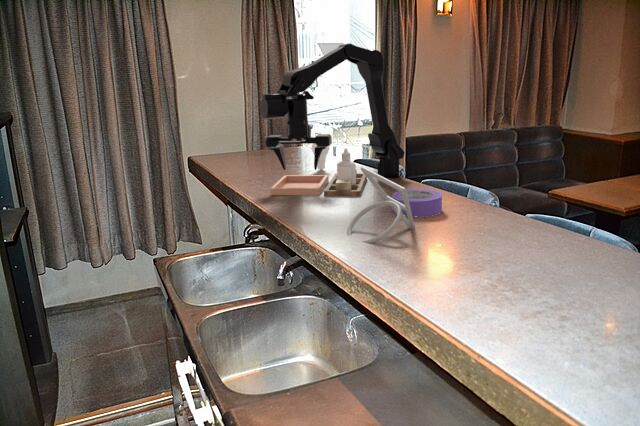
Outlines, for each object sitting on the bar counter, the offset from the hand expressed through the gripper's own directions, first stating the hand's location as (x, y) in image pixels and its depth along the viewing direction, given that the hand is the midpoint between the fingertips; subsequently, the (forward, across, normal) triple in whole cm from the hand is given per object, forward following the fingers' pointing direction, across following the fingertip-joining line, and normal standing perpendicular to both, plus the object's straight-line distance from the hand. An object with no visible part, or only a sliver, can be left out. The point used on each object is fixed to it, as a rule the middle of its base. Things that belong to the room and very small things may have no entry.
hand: (300, 169), depth 155 cm
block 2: (+6, -14, -10) cm, 18 cm away
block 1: (+6, -14, +6) cm, 16 cm away
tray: (+6, 0, 0) cm, 6 cm away
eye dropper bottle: (+6, -14, -1) cm, 15 cm away
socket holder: (+6, -14, -2) cm, 15 cm away
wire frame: (+9, -28, +42) cm, 52 cm away
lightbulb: (+6, -2, -29) cm, 30 cm away
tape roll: (+6, -34, +25) cm, 42 cm away
